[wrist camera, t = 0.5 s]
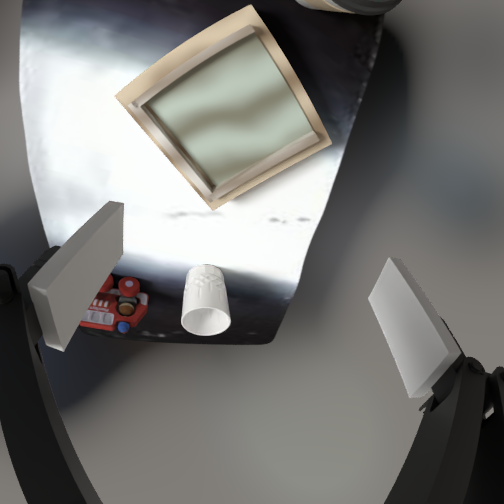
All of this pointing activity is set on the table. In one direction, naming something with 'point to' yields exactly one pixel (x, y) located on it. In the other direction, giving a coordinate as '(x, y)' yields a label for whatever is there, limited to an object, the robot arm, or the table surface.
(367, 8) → the coffee cup
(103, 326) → the toy fire truck
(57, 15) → the table surface
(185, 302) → the white cup
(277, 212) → the table surface
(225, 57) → the tray
